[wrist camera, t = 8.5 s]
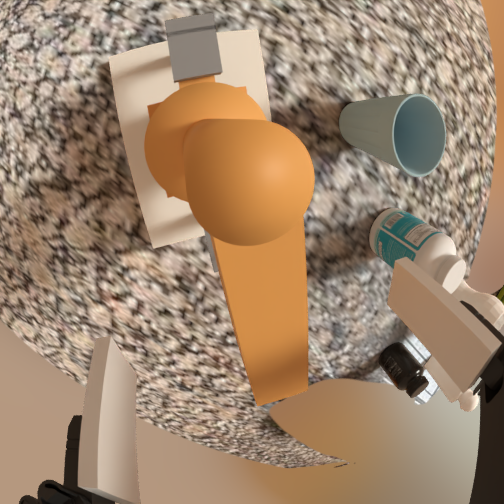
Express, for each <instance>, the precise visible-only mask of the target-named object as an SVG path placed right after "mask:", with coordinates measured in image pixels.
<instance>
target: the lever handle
mask: <svg viewBox="0 0 504 504" xmlns="http://www.w3.org/2000/svg"><path fill="white" fill-rule="evenodd" d="M178 83H179V90H177V91H176V92H174V93H172V94H171V95H170V96H168V97H167V98H166V99H165V100H164V101H163V102H159V103H155V104H151V105H148V106H147V108H148V114H149V119H150V121H149V123H148V126H147V129H146V133H145V140H144V152H145V158H146V162H147V165H148V168H149V170H150V172H151V174H152V176H153V177H154V179H155V180H156V182H157V183H158V184H159V185H160V186H161V187H162V188H163V189H164V190H165V191H166V194H167V198H170V197H173V196H174V197H176V198H178V199H180V200H183V201H186V202H188V203H189V206H190V209H191V211H192V213H193V215H194V217H195V219H196V220H197V222H198V223H199V224H200V225H201V226H202V228H203V229H204V230H205V231H207V232H208V233H209V234H210V237H211V241H212V246H213V250H214V254H215V258H216V262H217V266H218V270H219V275H220V279H221V283H222V287H223V290H224V294H225V298H226V302H227V306H228V310H229V314H230V317H231V321H232V325H233V329H234V332H235V336H236V340H237V343H238V346H239V350H240V353H241V356H242V360H243V363H244V366H245V369H246V373H247V376H248V379H249V382H250V385H251V388H252V391H253V395H254V398H255V401H256V404H257V406H260V405H264V404H267V403H271V402H274V401H277V400H281V399H284V398H287V397H290V396H293V395H296V394H299V393H302V392H305V391H307V390H308V301H307V273H306V252H305V234H304V219H303V215H304V213H305V212H306V210H307V208H308V206H309V204H310V201H311V198H312V195H313V190H314V168H313V164H312V160H311V157H310V155H309V153H308V151H307V149H306V147H305V146H304V144H303V143H302V142H301V141H300V139H299V138H298V137H297V136H296V135H295V134H293V133H292V132H291V131H289V130H288V129H287V128H285V127H283V126H281V125H279V124H276V123H273V122H270V121H267V119H266V117H265V115H264V113H263V111H262V109H261V108H260V107H259V105H258V104H257V103H256V102H255V101H254V100H253V98H251V97H250V96H249V95H248V94H247V89H246V86H243V87H234V86H231V85H228V84H224V83H218V82H215V76H208V77H202V78H196V79H191V80H186V81H181V82H178Z"/></svg>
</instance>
